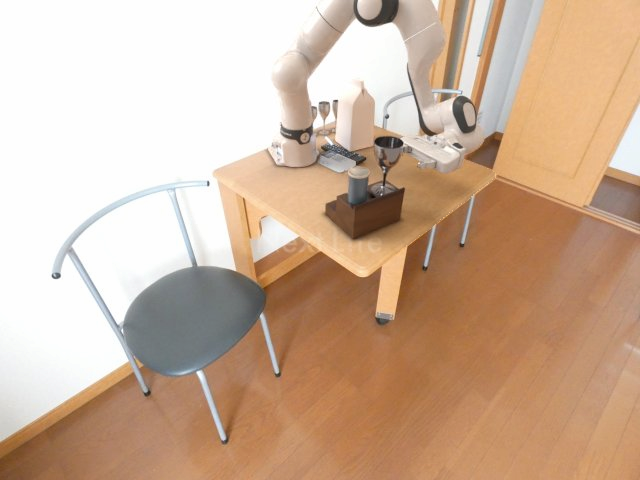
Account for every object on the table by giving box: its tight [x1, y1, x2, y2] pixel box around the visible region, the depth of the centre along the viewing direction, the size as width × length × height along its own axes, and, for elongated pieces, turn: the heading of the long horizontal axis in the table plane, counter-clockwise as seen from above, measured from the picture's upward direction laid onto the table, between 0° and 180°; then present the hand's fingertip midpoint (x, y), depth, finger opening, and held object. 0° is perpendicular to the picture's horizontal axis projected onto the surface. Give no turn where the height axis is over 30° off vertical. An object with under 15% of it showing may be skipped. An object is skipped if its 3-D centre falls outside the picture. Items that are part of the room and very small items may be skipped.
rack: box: [324, 179, 406, 240], centre depth 113 cm, size 15×18×12 cm
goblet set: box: [311, 99, 339, 137], centre depth 163 cm, size 28×6×13 cm, turn 112°
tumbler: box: [346, 165, 371, 205], centre depth 103 cm, size 6×6×9 cm
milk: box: [334, 76, 376, 153], centre depth 149 cm, size 12×12×26 cm
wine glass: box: [371, 135, 404, 196], centre depth 105 cm, size 8×8×15 cm
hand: (407, 159), depth 108 cm, fingers open, 8 cm apart
